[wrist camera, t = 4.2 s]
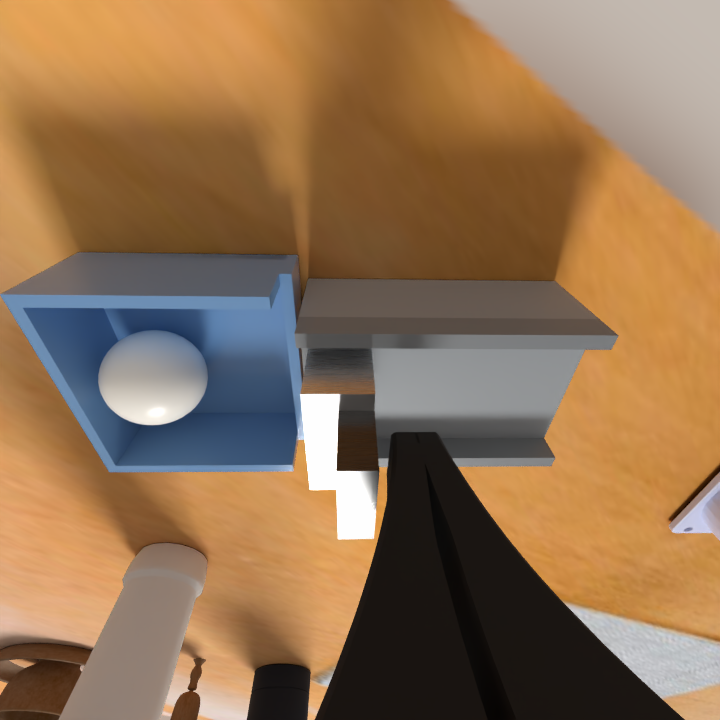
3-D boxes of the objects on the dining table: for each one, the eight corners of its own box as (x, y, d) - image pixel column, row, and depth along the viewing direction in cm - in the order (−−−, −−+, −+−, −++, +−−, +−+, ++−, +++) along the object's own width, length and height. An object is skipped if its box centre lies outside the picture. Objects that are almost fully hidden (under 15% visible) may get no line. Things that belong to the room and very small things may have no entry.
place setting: (2, 616, 32) (-60, 706, 27) (220, 650, 38) (201, 728, 34) (-5, 669, 40) (-52, 745, 36) (175, 690, 47) (155, 757, 42)
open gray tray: (555, 281, 14) (618, 335, 10) (513, 398, 17) (551, 466, 14) (308, 278, 13) (294, 333, 10) (316, 397, 17) (307, 467, 14)
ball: (215, 319, 13) (148, 375, 11) (232, 391, 15) (181, 454, 13) (134, 307, 14) (51, 357, 11) (161, 378, 16) (97, 435, 13)
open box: (298, 254, 13) (283, 297, 10) (310, 411, 17) (303, 471, 15) (78, 252, 13) (0, 294, 10) (149, 411, 17) (109, 472, 14)
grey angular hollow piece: (371, 345, 11) (380, 453, 8) (367, 435, 14) (373, 549, 10) (309, 344, 11) (289, 454, 8) (315, 435, 14) (303, 550, 10)
